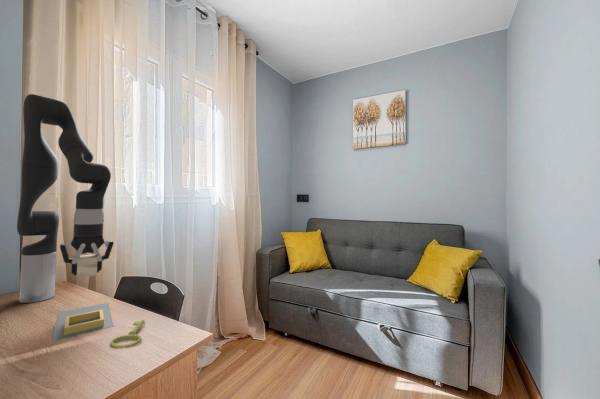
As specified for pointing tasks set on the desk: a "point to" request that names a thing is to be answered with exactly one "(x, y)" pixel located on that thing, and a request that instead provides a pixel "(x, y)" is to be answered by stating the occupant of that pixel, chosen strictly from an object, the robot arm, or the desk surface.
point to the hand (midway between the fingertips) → (86, 273)
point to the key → (129, 336)
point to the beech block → (87, 265)
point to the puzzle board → (82, 321)
